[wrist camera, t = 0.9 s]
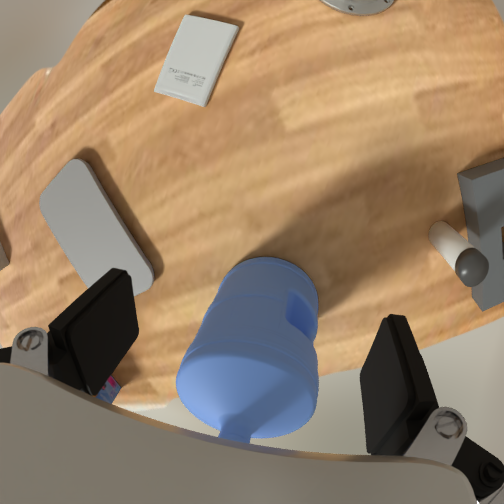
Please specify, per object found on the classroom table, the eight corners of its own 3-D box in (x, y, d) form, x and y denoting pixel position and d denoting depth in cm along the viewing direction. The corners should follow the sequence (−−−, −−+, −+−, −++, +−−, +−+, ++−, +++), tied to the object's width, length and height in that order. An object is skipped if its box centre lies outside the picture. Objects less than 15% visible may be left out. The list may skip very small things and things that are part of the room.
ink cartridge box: (123, 388, 67) (98, 428, 54) (109, 388, 69) (85, 425, 56) (101, 360, 64) (72, 400, 51) (88, 361, 66) (60, 399, 53)
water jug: (218, 326, 52) (159, 465, 27) (224, 245, 45) (135, 390, 20) (306, 343, 50) (293, 495, 25) (328, 264, 43) (340, 434, 18)
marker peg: (432, 217, 37) (468, 251, 27) (454, 223, 37) (493, 257, 26) (424, 244, 39) (456, 284, 28) (446, 248, 39) (481, 288, 28)
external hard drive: (240, 29, 32) (207, 107, 37) (188, 17, 32) (157, 91, 37) (238, 25, 30) (203, 106, 36) (184, 14, 30) (152, 91, 36)
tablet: (110, 304, 55) (104, 311, 53) (43, 198, 48) (35, 201, 46) (165, 277, 50) (159, 283, 48) (86, 149, 42) (78, 151, 40)
